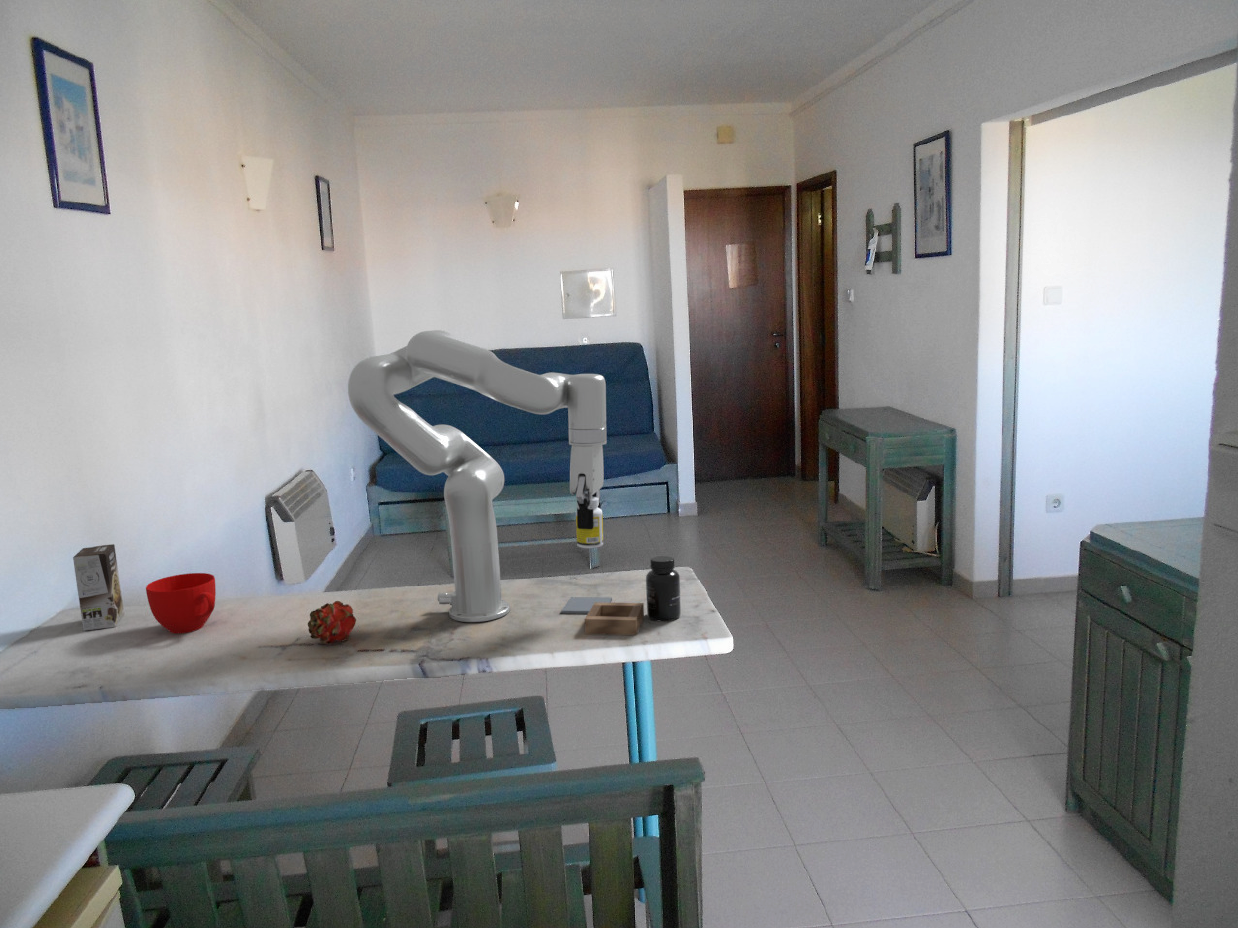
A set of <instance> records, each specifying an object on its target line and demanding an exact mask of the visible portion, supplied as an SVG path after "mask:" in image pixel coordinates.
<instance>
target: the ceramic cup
mask: <svg viewBox="0 0 1238 928" xmlns="http://www.w3.org/2000/svg"><path fill="white" fill-rule="evenodd" d="M145 591H146V597H147V601H148V606H149V608H150V609H149V610H150V611H151V613H152V615H153V617H154V619H155V620H156V621H157V623H158V624H159V625H161V627H162V628H164V629H166V630H167V631H168V632H169V633H171V634H186V633H191V632H194V631H197V630H200V629H202V628H203V627H204V626H205V624H206V623H207V621H208V620H209V618H210V616H211V615H212V613H213V612H214V610H215V605H216V594H217V593H216V578H215V576H214V574H210V573H206V572H191V573H183V574H176V575H170V576H167V577H163V578H160V579H157V580H154V581H152V582H150V583H148V584H147V585H146V586H145Z"/></svg>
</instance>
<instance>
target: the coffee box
mask: <svg viewBox="0 0 1238 928" xmlns="http://www.w3.org/2000/svg"><path fill="white" fill-rule="evenodd" d="M115 547H116V546H115V544H114V543H113V544H104V545H97V546H90V547H83V548H81V550H79V551H77V553H76V554H75V555H74V556H73V557H72V559H73V566H74V573H75V574H74V575H75V581H76V589H77V594H78V601H79V608H80V615H81V621H82V622H81V623H82V630H83V632H84V631H85V632H86V631H92V630H99V629H109V628H115V627H117V626H118V624H119V622H121V620H122V618H123V617H124V615H125V610H124V609H125V608H124V602H123V601H124V600H123V596H122V590H121V581H120V575H119V568H118V567H119V566H118V561H117V554H116V548H115Z"/></svg>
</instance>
